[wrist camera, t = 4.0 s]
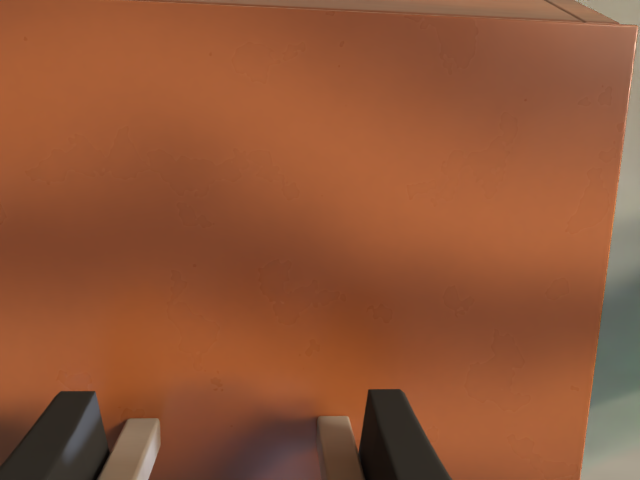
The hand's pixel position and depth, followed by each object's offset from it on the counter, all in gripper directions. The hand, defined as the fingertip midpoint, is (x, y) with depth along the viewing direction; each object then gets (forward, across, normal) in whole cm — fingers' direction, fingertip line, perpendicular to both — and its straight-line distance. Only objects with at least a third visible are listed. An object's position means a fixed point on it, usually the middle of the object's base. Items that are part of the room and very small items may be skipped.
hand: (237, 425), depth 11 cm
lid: (+3, 0, -2) cm, 3 cm away
